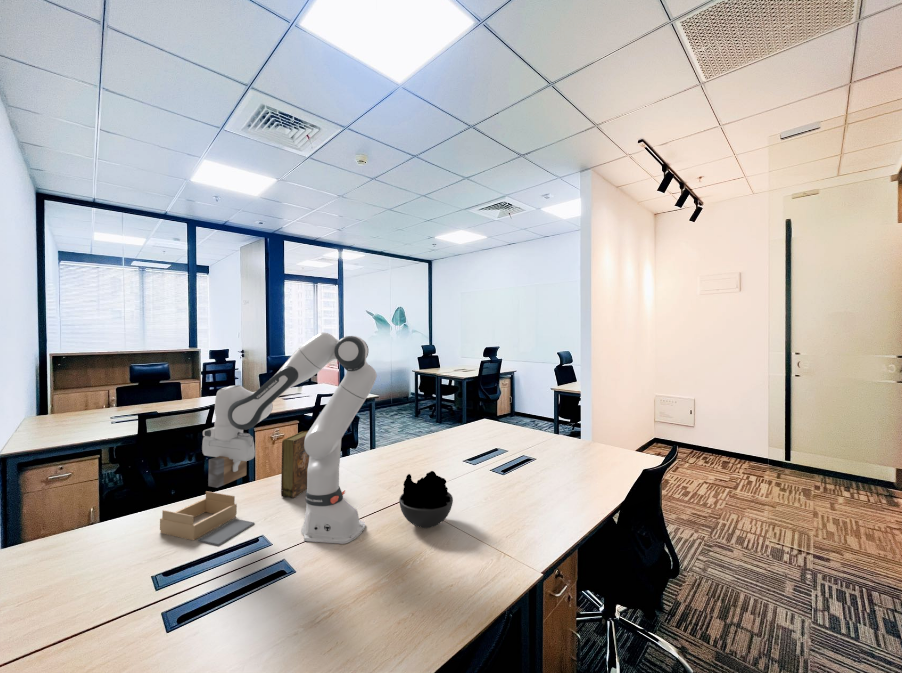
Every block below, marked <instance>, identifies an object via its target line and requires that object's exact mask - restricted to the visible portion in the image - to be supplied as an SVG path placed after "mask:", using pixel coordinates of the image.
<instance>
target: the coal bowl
mask: <svg viewBox="0 0 902 673" xmlns="http://www.w3.org/2000/svg"><path fill="white" fill-rule="evenodd" d="M446 485H447V480H446V478H443V477H441V476H439V475H437V473H436V472H435V470H431V471H429V472H426V475H425V476H424V477H421V478H420V479H417V481H416V482H414V481H413V480H412V474H410V473H408V474H407V475H406V477H405V480H404V482H403V489H402V490H403V491H402V492H403V493H402V494H401V495H400V496H399V501H398V502H399V507H400V511H401V513H402V514H403V517H404V518H405V519H406V520H407V521H408V522H409V523H410V524H411V525H413V526H415V527H418V528H422V529H428V528H434V527H436V526H439V525H440V524H441V523H443V522H444V521H445V520H446V518H447V517H448V516H449V514H450V511H451V510H452V507H453V503H454V502H453V501H454V498H453V495H452V494H451V493H450V492H448V490H449V489H448V487H447V486H446Z"/></svg>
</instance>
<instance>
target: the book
mask: <svg viewBox="0 0 902 673" xmlns="http://www.w3.org/2000/svg"><path fill="white" fill-rule="evenodd" d="M308 431H309V430H302V431H300V432H298V433H295V434H293V435H291V436H288V437H286V438H283V439H282V441H281V471H280V472H281V477H280V479H281V480H280V481H281V482H280V486H281V487H280V489H281V490H280V495H281V498H284V497H289V498H291V499H295V498H296V497H298V496H299V495H300V493H301V494H303V493H304V492H306V490H307V469H308V464H309V455H308V454H307V453H306V451H305V448H304V441H305V437H306V434H307V433H308ZM303 491H304V492H303Z"/></svg>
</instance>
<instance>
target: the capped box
mask: <svg viewBox="0 0 902 673" xmlns="http://www.w3.org/2000/svg"><path fill="white" fill-rule="evenodd" d="M233 465H234V462H233V459H229V457H224V456H218V457H212V458H210V459H208V479H207V481H208V483H207V484H208V485H207V486H208V487H212V488H220V487H222V486H225V485H227V484H229V483H232V482H234V481H236V480H239V479H241V478H243V477H245V476H247V461H241V462H240V464H239V465H238V471H236V472H232V471H231V466H233Z"/></svg>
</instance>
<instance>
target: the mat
mask: <svg viewBox="0 0 902 673" xmlns="http://www.w3.org/2000/svg"><path fill="white" fill-rule="evenodd" d="M254 525H255V522H254V521H248V520H243V519H238V518H233V519H231V520H229V521H228V522H226V523H224V524H222V525H220V526H219V527H217V528H215V529H213V530H211V531H210V532H208V533H206V534H204V535H202V536H200V537H199V538H197V542H200V543H204V544H208V545H214V546H218V547H220V546H221V545H222V544H224V543H226V542H228V541H229V540H231V539H232V538H234V537H235V536H238V534H241V533H242V532H244V531H246V530H248V529H249V528H251V527H252V526H254Z"/></svg>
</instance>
